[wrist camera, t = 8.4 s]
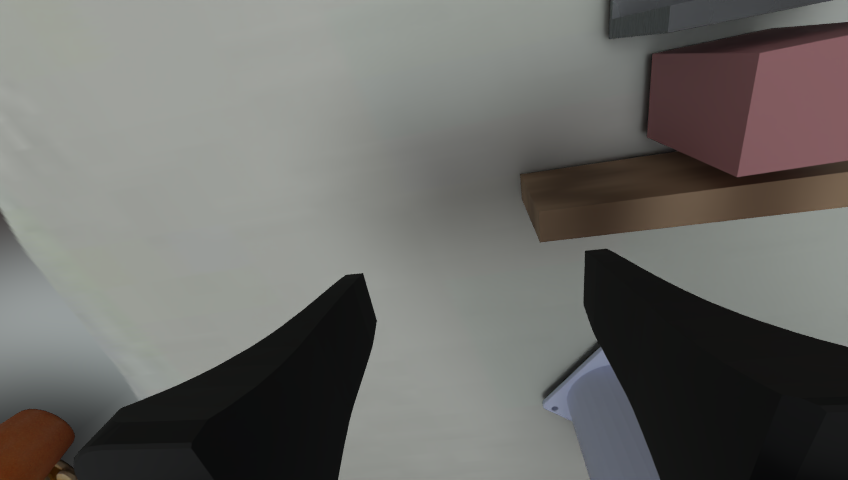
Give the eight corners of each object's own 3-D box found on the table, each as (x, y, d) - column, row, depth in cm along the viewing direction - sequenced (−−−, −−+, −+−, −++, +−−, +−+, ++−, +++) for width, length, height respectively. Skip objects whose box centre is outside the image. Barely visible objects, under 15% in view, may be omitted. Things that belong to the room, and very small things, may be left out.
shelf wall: (898, 119, 17) (1067, 143, 13) (886, 149, 18) (1042, 184, 13) (520, 174, 20) (538, 211, 16) (521, 198, 21) (539, 242, 16)
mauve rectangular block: (771, 28, 16) (960, 12, 10) (754, 118, 18) (906, 151, 12) (652, 53, 17) (760, 53, 11) (647, 137, 19) (737, 177, 13)
